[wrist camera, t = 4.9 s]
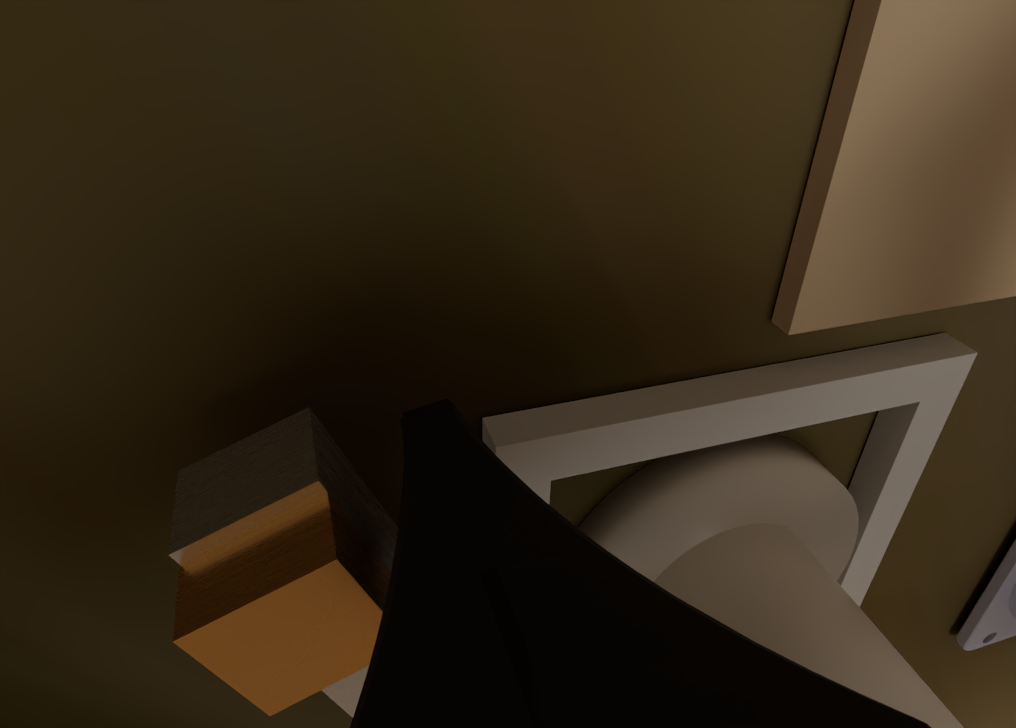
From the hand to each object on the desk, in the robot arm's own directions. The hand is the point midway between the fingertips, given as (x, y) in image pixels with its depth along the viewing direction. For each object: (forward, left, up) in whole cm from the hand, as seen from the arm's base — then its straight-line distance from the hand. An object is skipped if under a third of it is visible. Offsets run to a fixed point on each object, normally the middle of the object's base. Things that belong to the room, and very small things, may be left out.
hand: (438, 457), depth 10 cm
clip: (0, +6, 0) cm, 6 cm away
